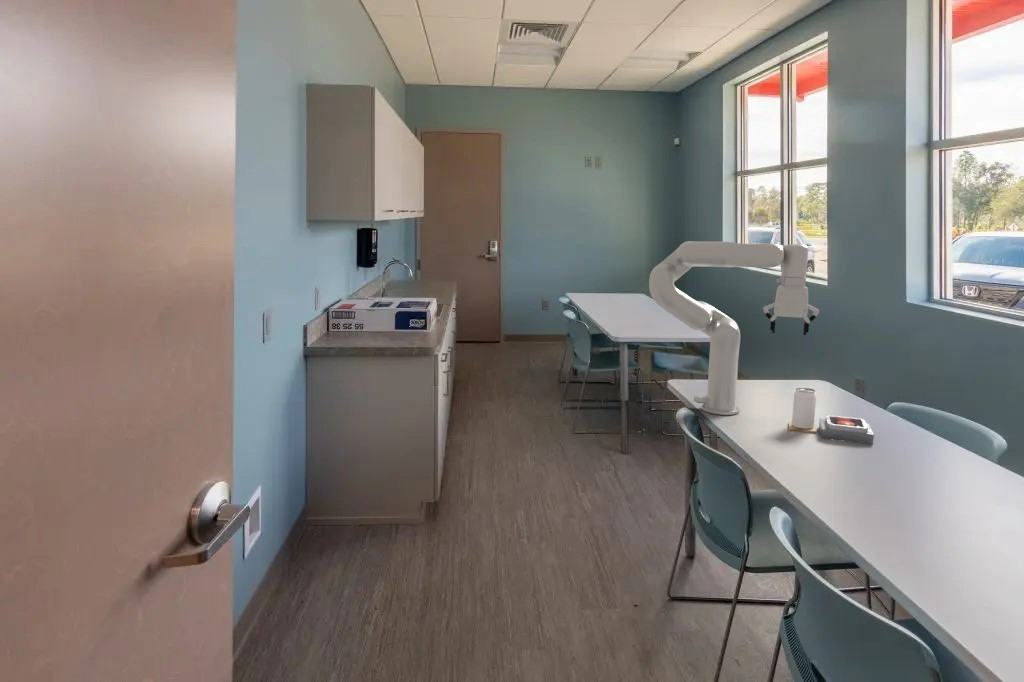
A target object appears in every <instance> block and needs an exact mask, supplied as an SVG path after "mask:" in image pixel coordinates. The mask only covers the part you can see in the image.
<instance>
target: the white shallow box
mask: <svg viewBox="0 0 1024 682" xmlns="http://www.w3.org/2000/svg"><path fill="white" fill-rule="evenodd" d="M838 421H847V422H852V423H854V424H855V426H847V425H838V424H837V422H838ZM818 429H819V435H820V439H822V438H824V439H823V440H830V439H833V441H839V440H844V441H843V442H848V441H852V442H851V443H857V442H862V443H861V444H865V443H869V444H868V445H873V444H874V437H875V433H874V432H873V430H872V427H871V425H870V423H867V422H866V420H865V419H863V418H858V417H857V418H856V417H849V416H840V415H828V414H827V415H825V417H824V418H819V425H818Z"/></svg>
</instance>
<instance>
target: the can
mask: <svg viewBox="0 0 1024 682" xmlns="http://www.w3.org/2000/svg"><path fill="white" fill-rule="evenodd" d="M816 403H817V393H816V390H815V389H813V388H810V387H797V388H796V389H795V392H794V394H793V404H792V416H791V422H792V425H793V426H794V427H796V428H800V429H811V428H813V427H814V424H815V417H816V405H817V404H816Z"/></svg>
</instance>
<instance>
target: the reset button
mask: <svg viewBox="0 0 1024 682" xmlns="http://www.w3.org/2000/svg"><path fill="white" fill-rule="evenodd" d="M837 424H838V425H847V426H855V424H854V423H852V422H847V421H838V422H837Z"/></svg>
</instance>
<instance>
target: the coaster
mask: <svg viewBox="0 0 1024 682" xmlns="http://www.w3.org/2000/svg"><path fill="white" fill-rule="evenodd" d="M791 430H792V432H802V433H803V432H804V433H809V432H811V433H810V434H817V432H818V429H817V424H815V423H814V427H813V428H811V429H800V428H796V427H794V426H793V425H792V421H788V431H791Z"/></svg>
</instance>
